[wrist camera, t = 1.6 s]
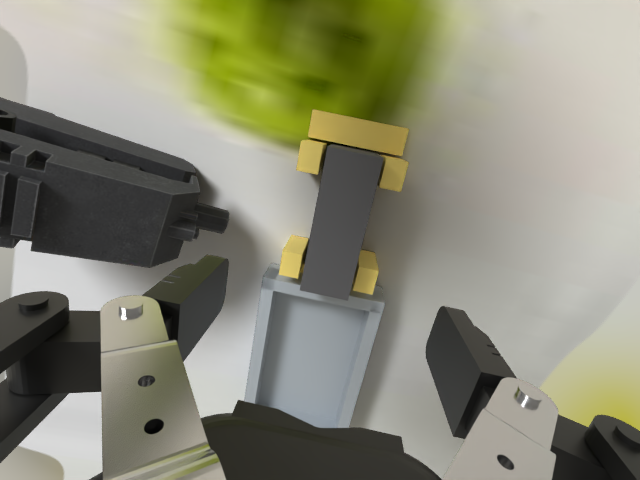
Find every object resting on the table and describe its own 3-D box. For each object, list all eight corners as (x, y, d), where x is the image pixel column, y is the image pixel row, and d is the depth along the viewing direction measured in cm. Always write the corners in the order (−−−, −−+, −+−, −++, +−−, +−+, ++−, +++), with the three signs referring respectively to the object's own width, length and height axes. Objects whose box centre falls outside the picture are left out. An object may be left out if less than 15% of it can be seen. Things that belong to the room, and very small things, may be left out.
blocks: (313, 109, 25) (307, 105, 21) (407, 129, 25) (418, 128, 21) (284, 278, 29) (274, 299, 26) (363, 295, 29) (365, 319, 25)
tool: (-49, 54, 23) (-277, 67, 11) (219, 152, 33) (249, 213, 21) (-55, 137, 25) (-254, 222, 13) (200, 205, 35) (219, 288, 23)
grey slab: (332, 143, 26) (327, 146, 20) (376, 152, 26) (383, 158, 20) (307, 266, 29) (297, 298, 23) (346, 275, 29) (345, 309, 23)
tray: (271, 263, 29) (262, 277, 26) (381, 286, 29) (385, 303, 26) (249, 401, 34) (240, 426, 31) (342, 422, 34) (342, 449, 31)
